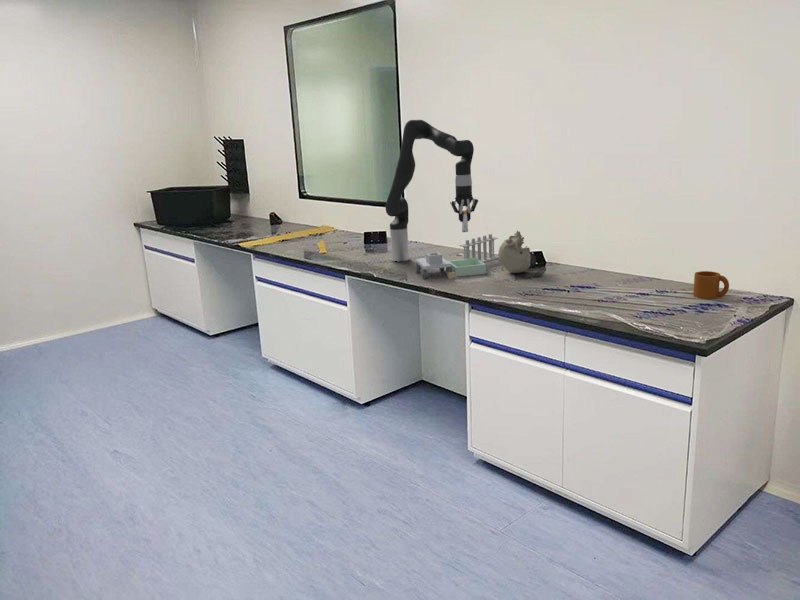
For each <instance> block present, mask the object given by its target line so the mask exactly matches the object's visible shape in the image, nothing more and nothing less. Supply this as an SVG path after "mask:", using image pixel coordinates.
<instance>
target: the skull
mask: <svg viewBox="0 0 800 600" xmlns="http://www.w3.org/2000/svg"><path fill="white" fill-rule="evenodd" d="M524 240H525V236H523V235H522V234H521V231H518V230H516V231H515V233H514V235H511V236H509V237H508V238H507V239H504V240H503V242H502V243H501V244H500V246H499V248H498V256H497V257H498V260H499V262H500V264H501V265H502V267H503V269H504V270H506V271H508V272H509V273H511V274H521V273H523V272H525V271H526V270H528V269H529V268H530V267H531V249H530V247H528V245H527V246H525V247H523V244H524V243H525V241H524ZM524 245H525V244H524Z"/></svg>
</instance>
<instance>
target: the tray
mask: <svg viewBox="0 0 800 600" xmlns="http://www.w3.org/2000/svg"><path fill="white" fill-rule="evenodd" d="M447 261H448V262H450V263H451V268H452V272H454V273H455V278H457V277H458V276H459V277H466V276H467V275H468V276H474V275H475V276H476V275H482V274H483V275H486V274H487V263H486V262H485V263H483V262H482V261H480V260H478V257H475V258H472V257H471V258H470V259H464V258H462V259H455V260H454V259H453V260H447Z"/></svg>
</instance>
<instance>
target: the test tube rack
mask: <svg viewBox="0 0 800 600" xmlns="http://www.w3.org/2000/svg"><path fill="white" fill-rule="evenodd" d="M487 236H488V237H487ZM476 239H477V240H476ZM498 239H499V238H498V237H493V234H492V233H490V234H489V233H488V235H482V238H481V236H478V237H477V238H471V242H470V239H466V240H465V244H459V247H463V259H471V258H476V246H477V259H478V260H480V261H482V262H483V263H485V264H486V263H487V262H492V261H494V260H497V259H498V260H499V256H495V240H498ZM487 242H488V245H487ZM487 246H488V247H487ZM470 247H471V254H470ZM487 248H488V249H487ZM487 250H488V251H487ZM482 251H483V252H482ZM487 252H488V253H487ZM482 254H483V258H482ZM470 255H471V258H470Z"/></svg>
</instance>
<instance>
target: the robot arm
mask: <svg viewBox="0 0 800 600" xmlns="http://www.w3.org/2000/svg"><path fill="white" fill-rule="evenodd" d="M422 139H424V140H425V139H426V140H430V141H432V142H433V143H434V144H435V145H436V146H437V147H438V148H440V149H443V150H446V151H447V152H448V153H450V154H451V155H452V156H455V157H460V160H459V161H458V162H456V163H455V178H454V182H455V198H454V200H451V201H449V203H450V206H451V208H452V210H453V212H454V213H456V214H458V220H459V222H461V223H462V222H463V214H462V211H463V208H464V207H465V210H467V213H468V222H470V220H471V215H472V214H471V213H473V212H475V210H476V207H477V205H478V203H479V200H478V199H477V198H474V197H473V190H472V189H473V188H472V187H473V185H472V184H473V182H472V181H473V180H472V174H471V173H472V169H471V167H472V166H471V165H472V161H473V157H474V151H475V149H474V145H473V142H472V141H471V140H470V139H465V140H464V139H462V140H458V139H457V138H456V137H455V136H454V135H452V134H449V133H447V132H444V131H442V130H440V129H437V128H435V127H434V126H432V124H430V123H429V122H427V121H425V120H424V119H409V120H407V121H406V122H405V123H404V127H403V132H402V140H401V146H400V151H399V155H398V160H397V163H396V168H395V173H394V177H393V180H392V185H391V188H390V191H389V194H388V196H387V199H386V202H385V212H386V214H387V215H388V216H389V217H394V219H393V220H392V221H391V222H390V224H389V233H390V248H391V249H390V250H391V251H390V252H391V261H392V262H395V261H397V263H398V262H399V263H400V262H401V261H402V262H407V261H410V252H409V250H410V249H409V235H408V231H409V229H408V224H409V203H408V200H407V199H406V198H405V197H402V196H403V193H404V191H405V190H406V188H407V187H408V185H410V183H411V181H412V179H413V177H414V173H415V170H416V161H415V157H414V153H413V149H414V143H415V141H416V140H422ZM471 203H472V205H471ZM456 204H457V205H458V207H457V205H456Z"/></svg>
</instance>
